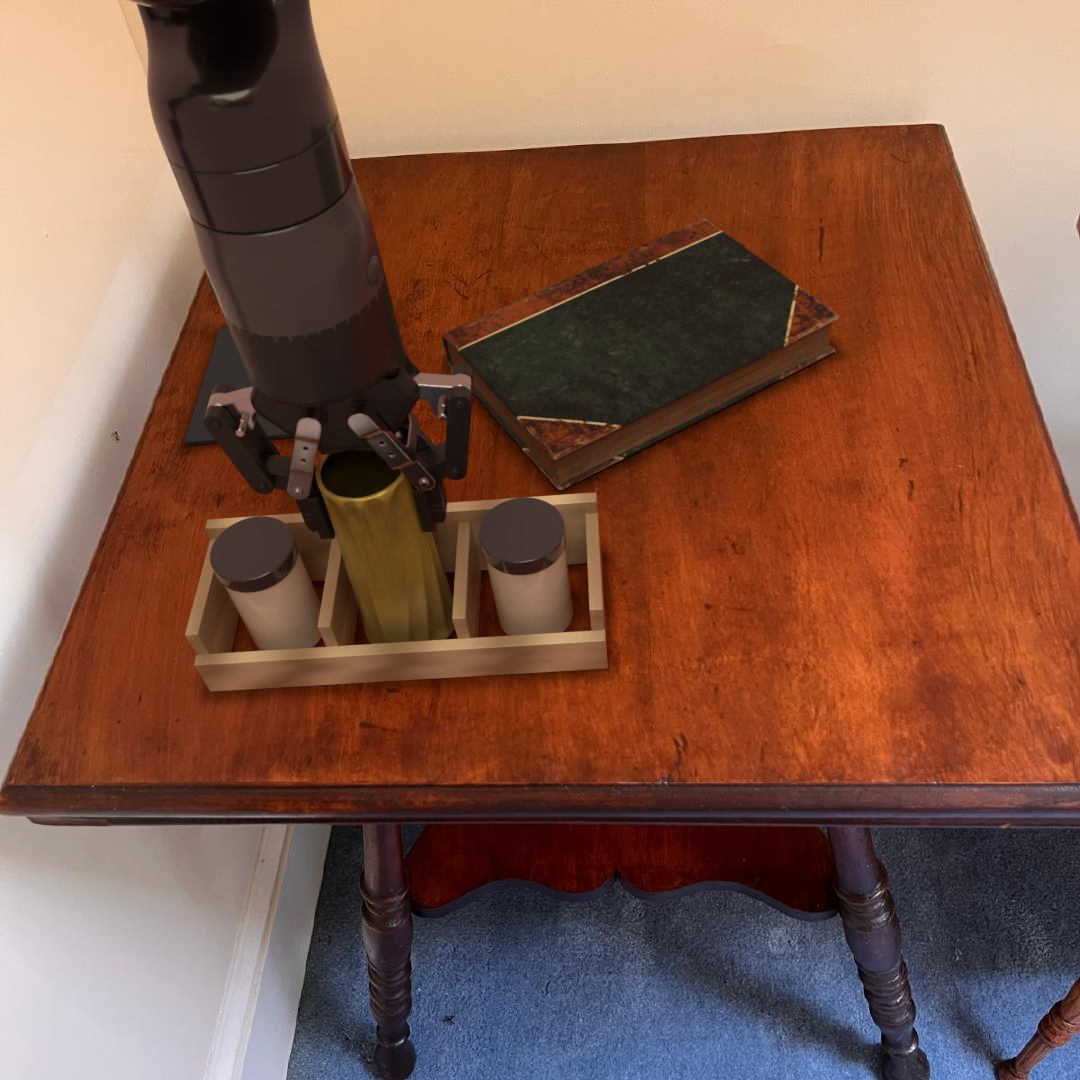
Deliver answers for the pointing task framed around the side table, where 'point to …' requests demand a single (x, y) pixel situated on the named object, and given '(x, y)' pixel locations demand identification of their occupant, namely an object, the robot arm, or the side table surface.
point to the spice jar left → (268, 583)
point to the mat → (227, 371)
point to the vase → (385, 549)
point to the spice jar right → (527, 566)
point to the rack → (400, 660)
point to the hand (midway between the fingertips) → (380, 523)
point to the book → (638, 349)
